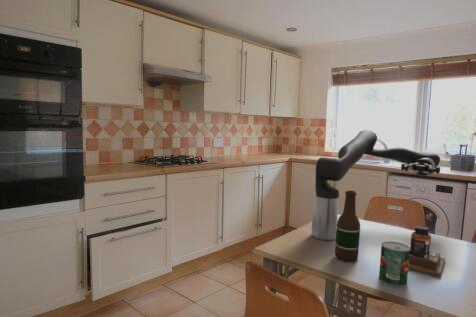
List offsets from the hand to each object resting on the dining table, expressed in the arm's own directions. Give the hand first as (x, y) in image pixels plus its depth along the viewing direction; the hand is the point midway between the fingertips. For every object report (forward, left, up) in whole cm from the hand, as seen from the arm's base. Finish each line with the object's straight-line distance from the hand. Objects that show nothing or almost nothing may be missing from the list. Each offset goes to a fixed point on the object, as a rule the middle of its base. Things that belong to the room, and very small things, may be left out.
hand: (417, 169), depth 135 cm
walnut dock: (-15, -21, -30) cm, 39 cm away
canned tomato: (-33, -31, -30) cm, 54 cm away
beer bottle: (-38, -13, -30) cm, 50 cm away
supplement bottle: (-14, -21, -29) cm, 38 cm away
